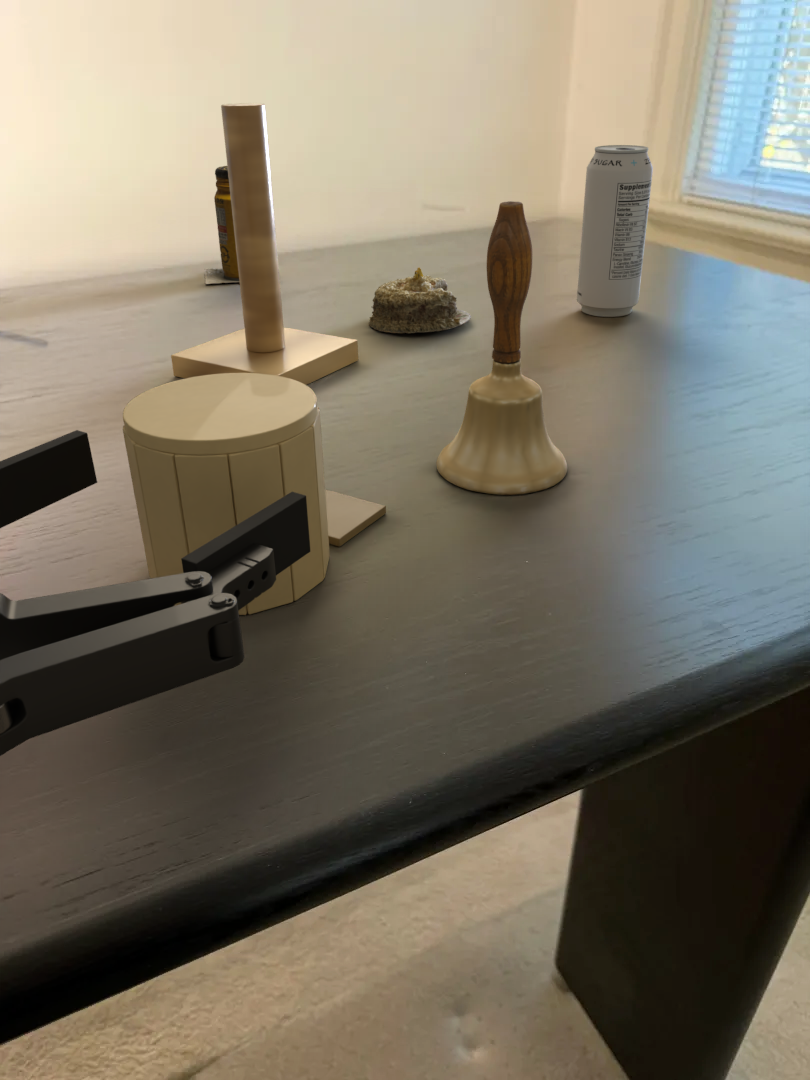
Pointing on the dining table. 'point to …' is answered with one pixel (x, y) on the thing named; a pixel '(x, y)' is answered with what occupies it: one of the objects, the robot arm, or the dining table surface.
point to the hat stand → (260, 275)
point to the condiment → (224, 233)
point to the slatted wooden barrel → (233, 471)
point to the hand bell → (505, 386)
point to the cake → (416, 306)
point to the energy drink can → (614, 229)
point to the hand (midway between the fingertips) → (186, 486)
